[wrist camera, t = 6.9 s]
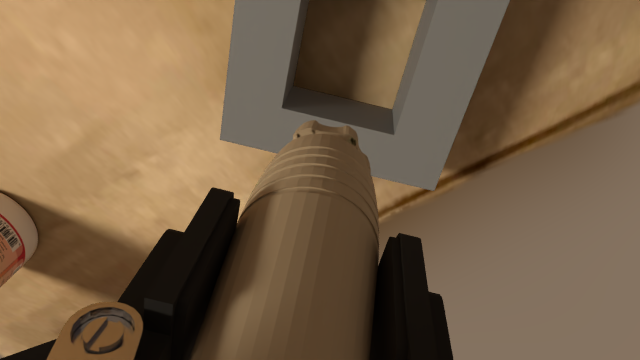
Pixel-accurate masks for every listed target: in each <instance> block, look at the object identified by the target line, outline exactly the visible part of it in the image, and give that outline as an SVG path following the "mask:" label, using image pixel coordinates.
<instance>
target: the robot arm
mask: <svg viewBox="0 0 640 360" xmlns="http://www.w3.org/2000/svg"><path fill="white" fill-rule="evenodd" d="M239 207H240V200H239V199H235V198H234V193H233V192H230V191H226V190H221V189H217V188H211V190H210V191H209V193H208V195H207V196H206V198H205V199H204V201H203V203H202V204H201V206H200V208H199V209H198V211H197V212H196V214H195V216H194V217H193V219H192V221H191V222H190V224H189V226H188V227H187V229H186V230H185V232H180V231H176V230H172V229H168V230H166V231H165V233H164V234H163V235H162V237H161V238H160V240H159V241H158V243H157V244H156V246H155V247H154V248H153V250H152V251H151V253H150V254H149V256H148V257H147V259H146V260H145V262H144V263H143V265H142V266H141V268H140V269H139V271H138V272H137V274H136V275H135V277H134V278H133V280H132V281H131V282H130V284H129V285H128V287H127V288H126V290H125V291H124V293H123V294H122V296H121V297H120V299H119V300H118V302H99V303H95V304H91V305H89V306H87V307H84V308H82V309H80V310H79V311H77V312H76V313H75V314H73V315H72V316H71V317H70V318H69V319H68V321H67V322H66V323H65V325H64V326H63V328H62V330H61V332H60V334H59V336H58V338H57V339H55V340H52V341H50V342H47V343H44V344H41V345H38V346H35V347H33V348H30V349H27V350H24V351H21V352H18V353H16V354H13V355H10V356H7V357H4V358H1V359H0V360H189V358H190V355H191V352H192V349H193V347H194V344H195V341H196V338H197V336H198V333H199V330H200V327H201V325H202V322H203V319H204V316H205V313H206V310H207V307H208V304H209V301H210V299H211V296H212V293H213V290H214V287H215V284H216V281H217V278H218V275H219V272H220V270H221V267H222V264H223V261H224V259H225V256H226V253H227V251H228V248H229V245H230V243H231V240H232V237H233V234H234V232H235V229H236V226H237V219H238V213H239ZM369 360H453V355H452V349H451V344H450V338H449V333H448V327H447V321H446V316H445V310H444V305H443V300H442V297H441V296H440V294H436V293H432V292H428V285H427V279H426V271H425V264H424V257H423V250H422V243H421V239H420V238H418V237H414V236H409V235H405V234H401V233H399V234H398V235H397V237H396V238H395V237H389V239H388V242H387V244H386V247H385V250H384V252H383V255H382V258H381V260H380V263H379V265H378V272H377V282H376V293H375V304H374V314H373V325H372V336H371V346H370V357H369Z"/></svg>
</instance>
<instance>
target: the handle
mask: <svg viewBox="0 0 640 360" xmlns="http://www.w3.org/2000/svg"><path fill="white" fill-rule="evenodd" d="M378 260H379V221H378V209H377V202H376V195H375V189H374V184H373V180H372V177H371V168H370V162H369V160H368V157H367V156H366V155H365V154H364V153H363V152H362V151H361V150H360V148H359V145H358V136H357V133H356V131H355V130H354V129H352V128H351V127H350V126H347V125H346V126H343V127H330V126H325V125H322V124H320V123H318V121H316V120H311V121H308V122H305V123H303V124H302V125H301V126H300V127H299V128H298V129H297V130H296V131H295V133H294V134H293V140H292V141H291V142H289V143H288V144H287V145H286V146H284V147H283V148H282V149H281V150H280V151H279V153H278V154H277V155H276V156H275V157H274V159H273V160H272V161H271V163H270V164H269V166H268V167H267V168H266V170H265V171H264V173H263V174H262V176H261V178H260V179H259V181H258V183H257V184H256V186H255V188H254V189H253V191H252V193H251V195H250V197H249V199H248V201H247V203H246V206H245V208H244V210H243V212H242V214H241V216H240V218H239V220H238V223H237V226H236V229H235V232H234V234H233V237H232V240H231V243H230V245H229V248H228V251H227V253H226V256H225V259H224V261H223V264H222V267H221V270H220V272H219V275H218V278H217V281H216V284H215V287H214V290H213V293H212V296H211V299H210V301H209V304H208V307H207V310H206V313H205V316H204V319H203V322H202V325H201V327H200V330H199V333H198V336H197V338H196V341H195V344H194V347H193V349H192V352H191V355H190V358H189V360H369V357H370V346H371V336H372V325H373V314H374V304H375V293H376V282H377V272H378Z"/></svg>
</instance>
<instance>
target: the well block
mask: <svg viewBox="0 0 640 360" xmlns="http://www.w3.org/2000/svg"><path fill="white" fill-rule="evenodd" d="M509 1H510V0H426V3H425V6H424V9H423V13H422V16H421V19H420V22H419V25H418V29H417V32H416V35H415V38H414V42H413V45H412V48H411V51H410V54H409V58H408V61H407V64H406V67H405V71H404V74H403V77H402V80H401V83H400V87H399V90H398V93H397V96H396V100H395V103H394V106H393V109H392V110H391V109H387V108H383V107H379V106H375V105H371V104H366V103H362V102H358V101H354V100H350V99H346V98H342V97H337V96H333V95H329V94H325V93H321V92H317V91H313V90H308V89H304V88H300V87H296V86H293V84H294V78H295V73H296V68H297V62H298V57H299V52H300V46H301V41H302V36H303V30H304V25H305V20H306V14H307V9H308V4H309V0H235V6H234V15H233V25H232V34H231V43H230V52H229V61H228V70H227V80H226V89H225V98H224V107H223V116H222V125H221V135H220V140H223V141H227V142H232V143H236V144H240V145H244V146H248V147H253V148H257V149H261V150H265V151H269V152H273V153H279V151H280V150H281V149H282V148H283V147H284V146H286V145H287V144H288V143H289V142H291V141H292V140H293V134H294V133H295V131H296V130H297V129H298V128H299V127H300V126H301V125H302V124H303V123H305V122H308V121H311V120H316V121H318V123H320V124H322V125H325V126H330V127H343V126H346V125H347V126H350V127H351V128H352V129H354V130H355V131H356V133H357V136H358V145H359V148H360V150H361V151H362V152H363V153H364V154H365V155H366V156H367V157H368V160H369V162H370V168H371V176H374V177H378V178H382V179H386V180H390V181H395V182H399V183H403V184H407V185H411V186H415V187H420V188H424V189H428V190H432V191H434V190H435V187H436V185H437V182H438V180H439V177H440V175H441V172H442V170H443V167H444V165H445V162H446V160H447V157H448V155H449V152H450V149H451V147H452V144H453V142H454V139H455V137H456V134H457V132H458V129H459V127H460V124H461V122H462V119H463V117H464V114H465V112H466V109H467V107H468V104H469V102H470V99H471V97H472V94H473V92H474V89H475V87H476V84H477V82H478V79H479V77H480V74H481V72H482V69H483V67H484V64H485V62H486V59H487V57H488V54H489V52H490V49H491V47H492V44H493V41H494V39H495V36H496V34H497V31H498V29H499V26H500V24H501V21H502V19H503V16H504V14H505V11H506V9H507V6H508V4H509Z"/></svg>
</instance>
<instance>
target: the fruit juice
mask: <svg viewBox="0 0 640 360" xmlns="http://www.w3.org/2000/svg"><path fill="white" fill-rule="evenodd" d="M37 244H38V233H37V229H36V226H35V224H34V222H33V220H32V219H31V217H30V216H29V215H28V213H27V212H26V211H25V210H24V209H23V208H22V207H21V206H20V205H19V204H18V203H17V202H15V201H14V200H12V199H11V198H9V197H8V196H6V195H4V194H2V193H0V287H1V286H2V285H3V284H4V283H5V282H6V281H7V280H9V279H10V278H11V277H12V276H13V275H14V274H15V273H16V272H17V271H18V270H19V269H20V268H21V267H22V266H23V265H24V264H25V263H26V262H27V261H28V260H29V259H30V258H31V256H32V255H33V254H34V252H35V250H36V248H37Z"/></svg>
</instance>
